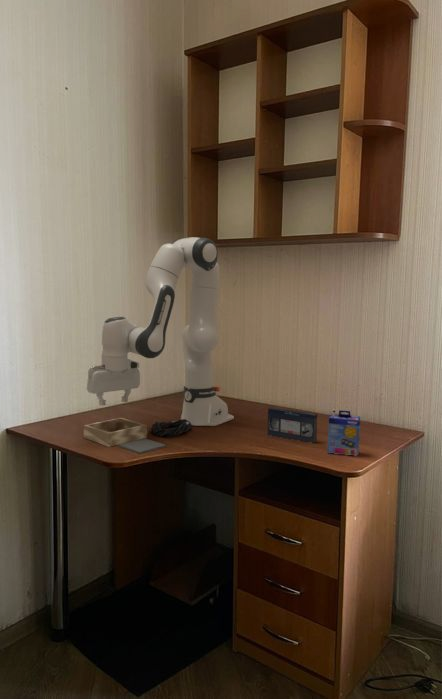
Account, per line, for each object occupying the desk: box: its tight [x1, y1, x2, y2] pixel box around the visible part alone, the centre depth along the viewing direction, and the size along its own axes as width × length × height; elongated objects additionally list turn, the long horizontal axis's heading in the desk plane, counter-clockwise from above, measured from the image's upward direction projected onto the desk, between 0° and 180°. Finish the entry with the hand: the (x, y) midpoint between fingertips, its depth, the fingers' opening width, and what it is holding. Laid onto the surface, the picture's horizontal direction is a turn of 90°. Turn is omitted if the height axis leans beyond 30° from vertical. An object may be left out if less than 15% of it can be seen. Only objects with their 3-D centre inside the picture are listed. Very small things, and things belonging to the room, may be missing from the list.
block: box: [105, 418, 125, 432], centre depth 192 cm, size 4×4×6 cm
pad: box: [118, 438, 167, 454], centre depth 182 cm, size 11×11×1 cm
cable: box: [149, 418, 193, 438], centre depth 201 cm, size 17×14×4 cm
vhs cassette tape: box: [267, 407, 318, 444], centre depth 193 cm, size 18×3×10 cm, turn 55°
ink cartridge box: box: [327, 409, 361, 457], centre depth 177 cm, size 10×6×14 cm, turn 73°
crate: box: [83, 417, 148, 448], centre depth 192 cm, size 16×15×4 cm
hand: (113, 403), depth 190 cm, fingers open, 8 cm apart
